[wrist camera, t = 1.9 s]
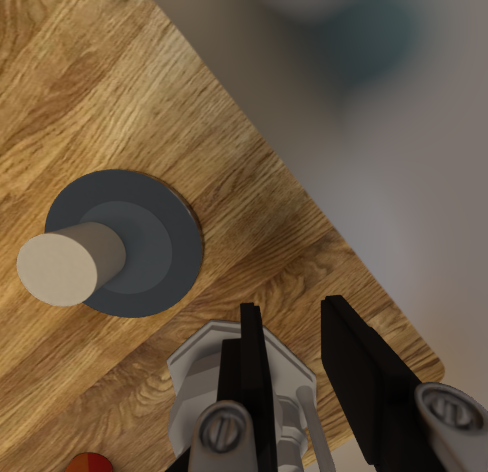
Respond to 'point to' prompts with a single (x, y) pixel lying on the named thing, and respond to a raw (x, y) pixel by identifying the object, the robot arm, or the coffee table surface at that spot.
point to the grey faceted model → (283, 384)
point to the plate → (136, 238)
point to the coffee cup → (89, 463)
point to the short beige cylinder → (70, 262)
